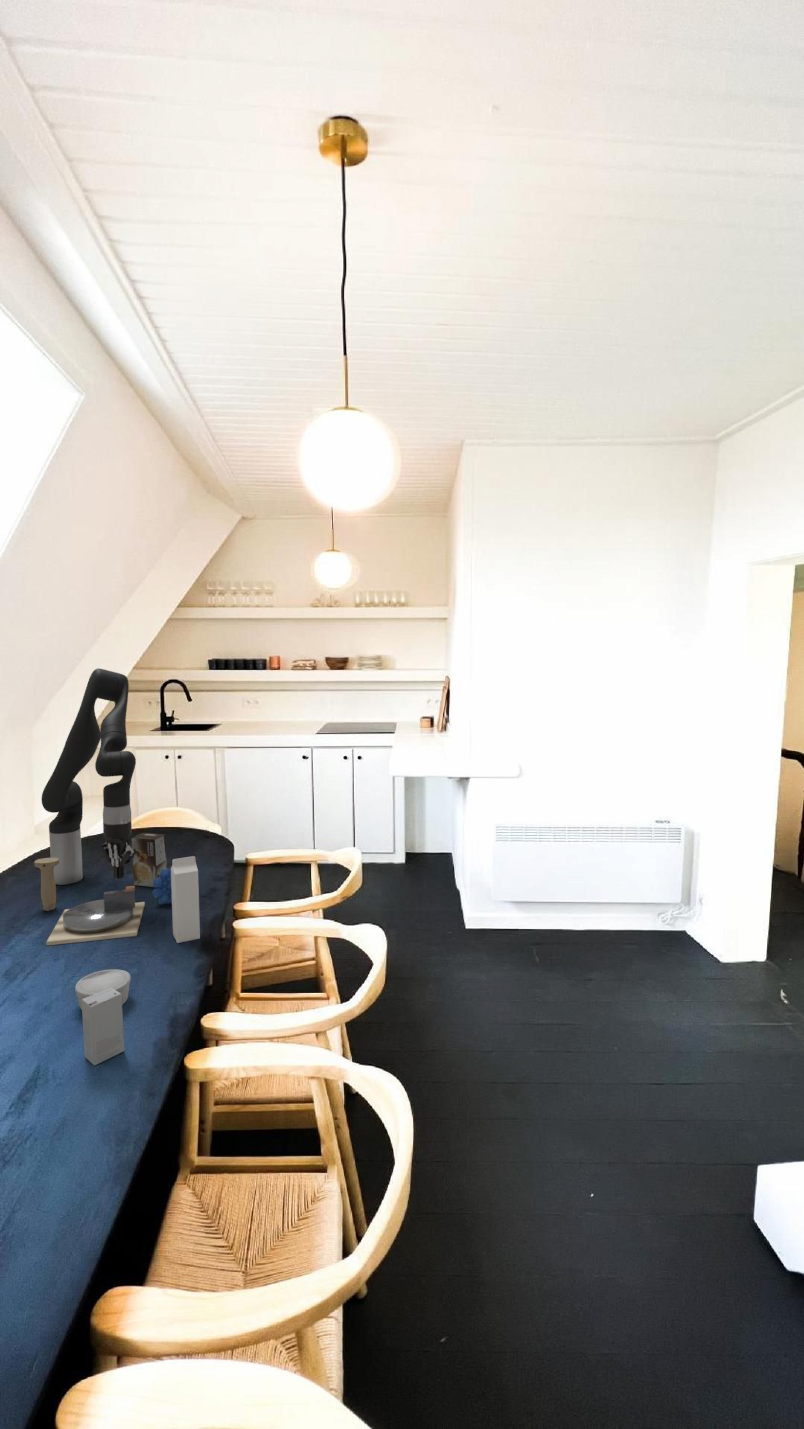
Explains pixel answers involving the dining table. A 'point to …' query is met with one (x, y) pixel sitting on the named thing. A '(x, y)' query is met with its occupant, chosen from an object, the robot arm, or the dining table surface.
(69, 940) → the base plate
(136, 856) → the coffee box
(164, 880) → the grapes
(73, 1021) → the dining table surface
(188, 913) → the milk
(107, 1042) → the skincare box
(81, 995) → the ramekin
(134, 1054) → the dining table surface
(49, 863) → the handle
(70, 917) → the dial
